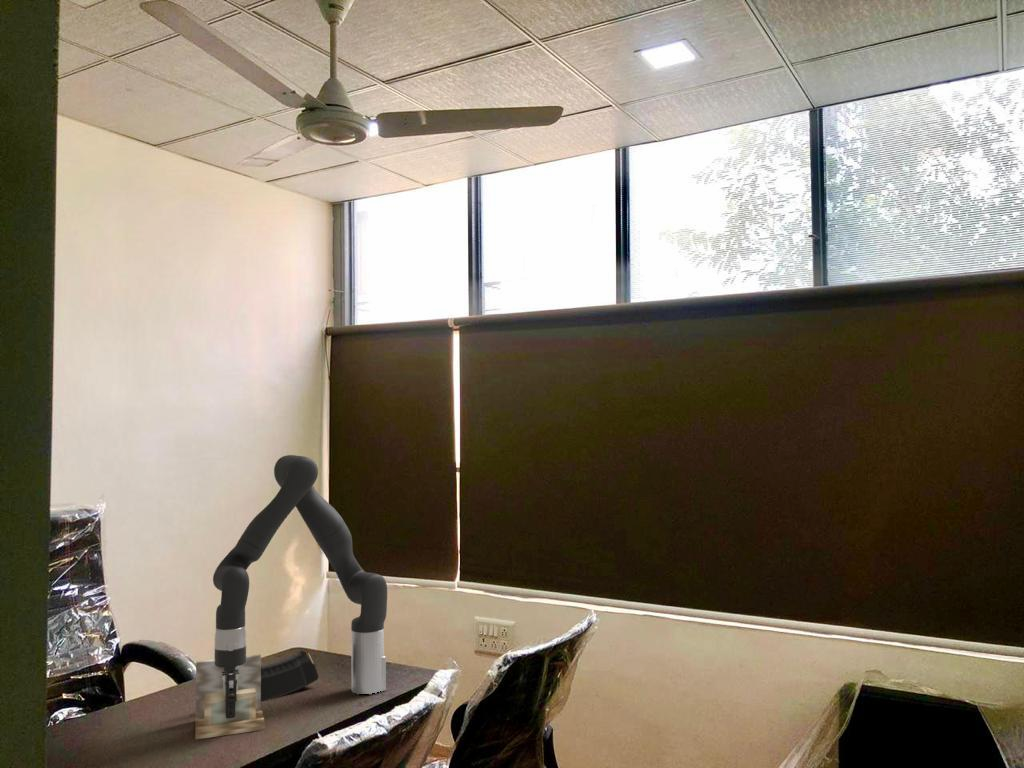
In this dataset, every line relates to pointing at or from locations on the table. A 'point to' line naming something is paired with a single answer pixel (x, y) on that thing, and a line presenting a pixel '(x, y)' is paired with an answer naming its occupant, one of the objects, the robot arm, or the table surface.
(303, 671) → the magazine
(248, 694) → the frame
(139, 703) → the table surface
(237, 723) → the marble tile stand
